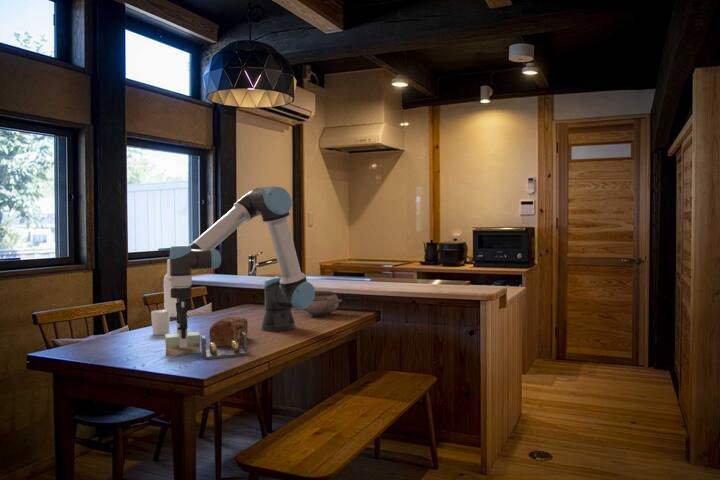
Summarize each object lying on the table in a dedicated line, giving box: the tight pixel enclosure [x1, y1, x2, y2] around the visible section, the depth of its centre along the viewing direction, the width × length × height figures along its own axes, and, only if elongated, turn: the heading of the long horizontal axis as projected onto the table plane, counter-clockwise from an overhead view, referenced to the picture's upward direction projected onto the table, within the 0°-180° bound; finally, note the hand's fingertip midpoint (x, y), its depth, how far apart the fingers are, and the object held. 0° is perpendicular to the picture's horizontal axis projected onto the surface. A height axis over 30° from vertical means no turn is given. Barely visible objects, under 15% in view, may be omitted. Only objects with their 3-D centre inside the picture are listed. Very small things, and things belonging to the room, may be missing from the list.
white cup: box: [150, 309, 171, 336], centre depth 257 cm, size 8×8×10 cm
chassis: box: [200, 332, 249, 361], centre depth 213 cm, size 16×12×7 cm
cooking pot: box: [303, 289, 343, 318], centre depth 298 cm, size 25×19×12 cm
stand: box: [165, 342, 201, 357], centre depth 216 cm, size 12×3×4 cm, turn 111°
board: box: [164, 330, 201, 347], centre depth 216 cm, size 12×8×3 cm, turn 111°
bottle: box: [163, 258, 177, 318], centre depth 305 cm, size 8×8×30 cm
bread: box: [208, 316, 249, 348], centre depth 235 cm, size 19×11×10 cm, turn 174°
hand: (182, 344), depth 216 cm, fingers open, 13 cm apart
